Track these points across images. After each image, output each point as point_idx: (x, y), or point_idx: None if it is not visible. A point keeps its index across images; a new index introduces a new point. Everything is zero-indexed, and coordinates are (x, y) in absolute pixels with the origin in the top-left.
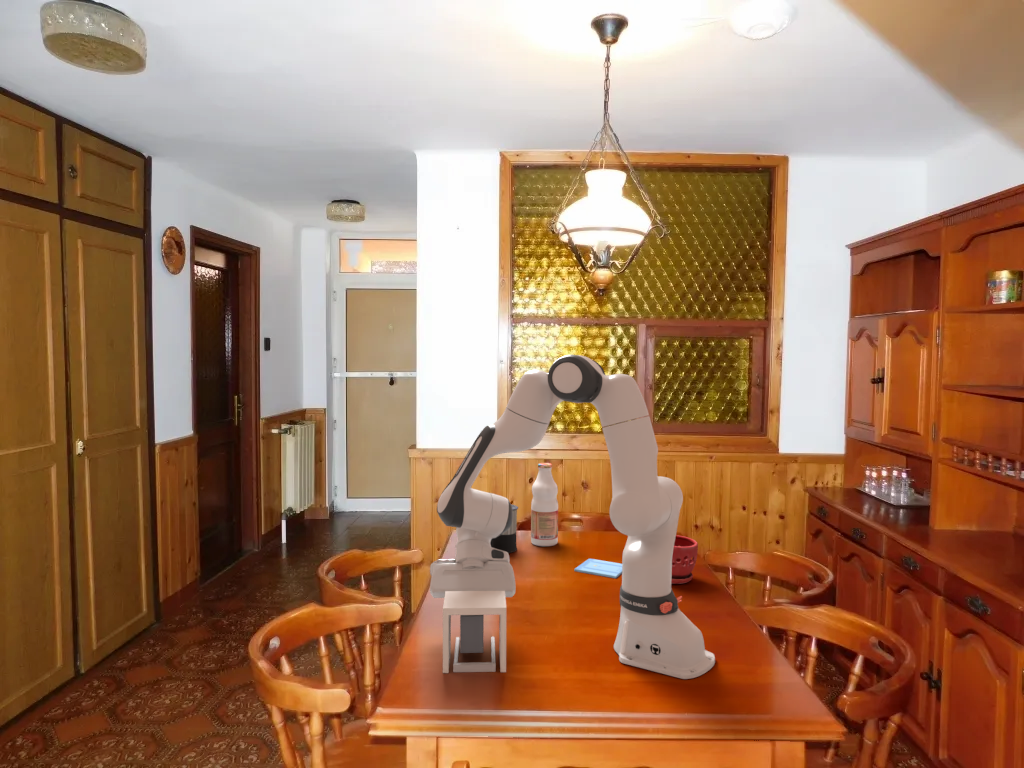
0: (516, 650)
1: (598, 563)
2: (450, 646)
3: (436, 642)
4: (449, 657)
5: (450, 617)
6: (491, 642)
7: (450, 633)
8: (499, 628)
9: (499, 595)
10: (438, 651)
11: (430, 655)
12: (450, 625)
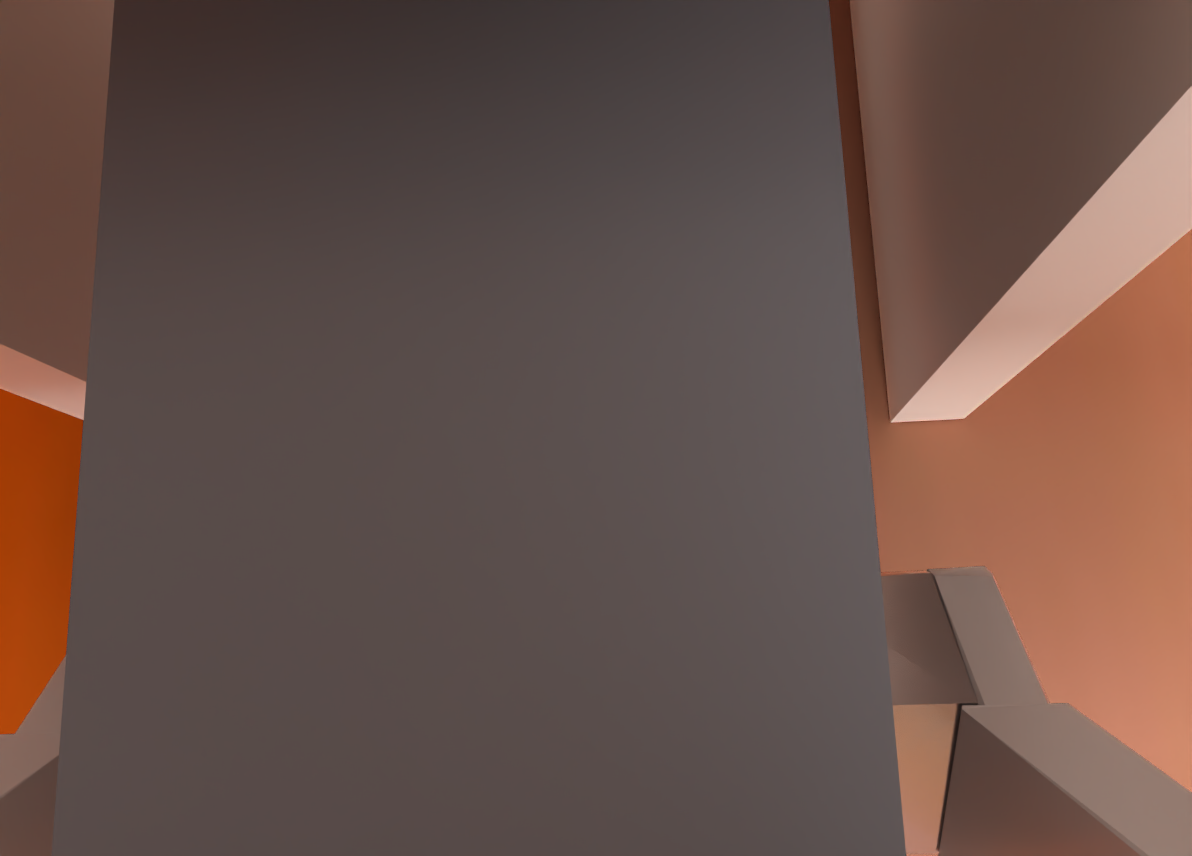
0: (36, 485)
1: None
2: (905, 344)
3: (1154, 735)
4: (873, 83)
5: (1056, 118)
6: None
7: (954, 273)
8: (65, 308)
9: None
10: (1063, 437)
11: (1150, 318)
12: (997, 213)
